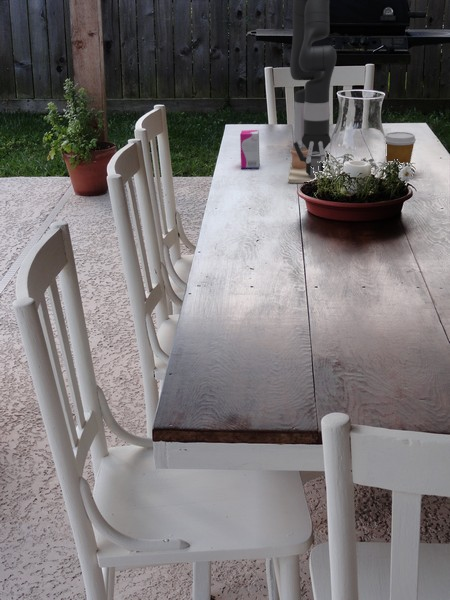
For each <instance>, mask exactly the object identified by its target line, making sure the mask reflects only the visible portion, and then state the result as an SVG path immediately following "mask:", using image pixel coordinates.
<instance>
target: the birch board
mask: <svg viewBox="0 0 450 600" xmlns="http://www.w3.org/2000/svg"><path fill="white" fill-rule="evenodd" d="M290 160H291V161H290V166H289V168H290V169H289V174H288V184H305V183H304V182H307V181H310V180H313V179H314V178H315V175H314V173H313V169H312V168H311V175H308V174H307V173H306V168H303V169H296V168H293V167H292V158H291V159H290ZM317 161H321V156H320V155H311V159H310V162H311V165H313V166H314V171H315V172H318V166H319V171H321V162H320V163H317Z"/></svg>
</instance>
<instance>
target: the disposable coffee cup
mask: <svg viewBox="0 0 450 600" xmlns="http://www.w3.org/2000/svg"><path fill="white" fill-rule="evenodd" d="M384 138H386V144H387V156H386V155H385V162H388V161H394V159H395V158H397V159H398V161H399V162H400V163H403V162H408V163H410V164H411V161H412V155H413V151H414V146H415V145H414V144H415V142H416V140H417V139H416V136H415V134H414V133H412V132H407V131H393V132H387V133H386V134H385V136H384Z"/></svg>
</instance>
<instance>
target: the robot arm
mask: <svg viewBox="0 0 450 600" xmlns="http://www.w3.org/2000/svg"><path fill="white" fill-rule="evenodd" d="M292 1H293V4H292V43H291V53H290V60H289V61H290V64H289V65H290V66H289V70H290V71H289V72H290V77H291V78H292V79H293V80H295V81H306V82H305V84H304V88H302V89H299V90H297V91H295V93H294V98H293V99H294V101H293V103H294V105H293V106H294V109H293V110H294V114H293V115H294V116H293V119H294V122H293V123H294V125H293V126H294V128H293V129H294V130H293V131H294V132H293V133H294V134H293V148H294V147H295V149H296V152H297V154H298V156H299V159H300V161H303V162H305V163H306V173H307V174H308V175H311V167H310V166H311V162H310V159H311V156H313V155H318V154H320V155H319V156H321V160H324V161H326V157H327V156H326V155H325V150H326V148H327V147H328V146H329V144H330V143H331V140H332V139H331V136H330V118H331V117H330V116H331V112H330V111H331V110H330V109H331V106H330V86H331V82H332V81H331V80H332V76H333V73H334V69H335V66H336V64H337V58H338V57H337V55H338V54H337V51H336V49H335V47H334V46H332V45H312V44H313V43H314V42H317V41H320V40H325V39H326V38H327V37H328V36H329V34H330V29H331V28H330V0H292ZM301 147H306V148H307V149H308V152H307V157H305V156H304V155H303V153H302V151H301ZM329 154H330V152H329V153H328V155H329ZM322 166H323V163H322V162H321V171H323V169H324V168H323V167H322Z"/></svg>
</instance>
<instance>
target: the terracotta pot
mask: <svg viewBox="0 0 450 600" xmlns="http://www.w3.org/2000/svg"><path fill="white" fill-rule="evenodd" d="M301 151H302V153H303V155H304V156H305V157H307V152H308V149H307V148H306V147H301ZM289 152H290V154H291V159H292V167H293V168H296V169H303V168H306V163H305V162H303V161H300V159H299V156H298V154H297V152H296V149H295V147H294V146H293V147H291V148H290V151H289Z"/></svg>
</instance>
